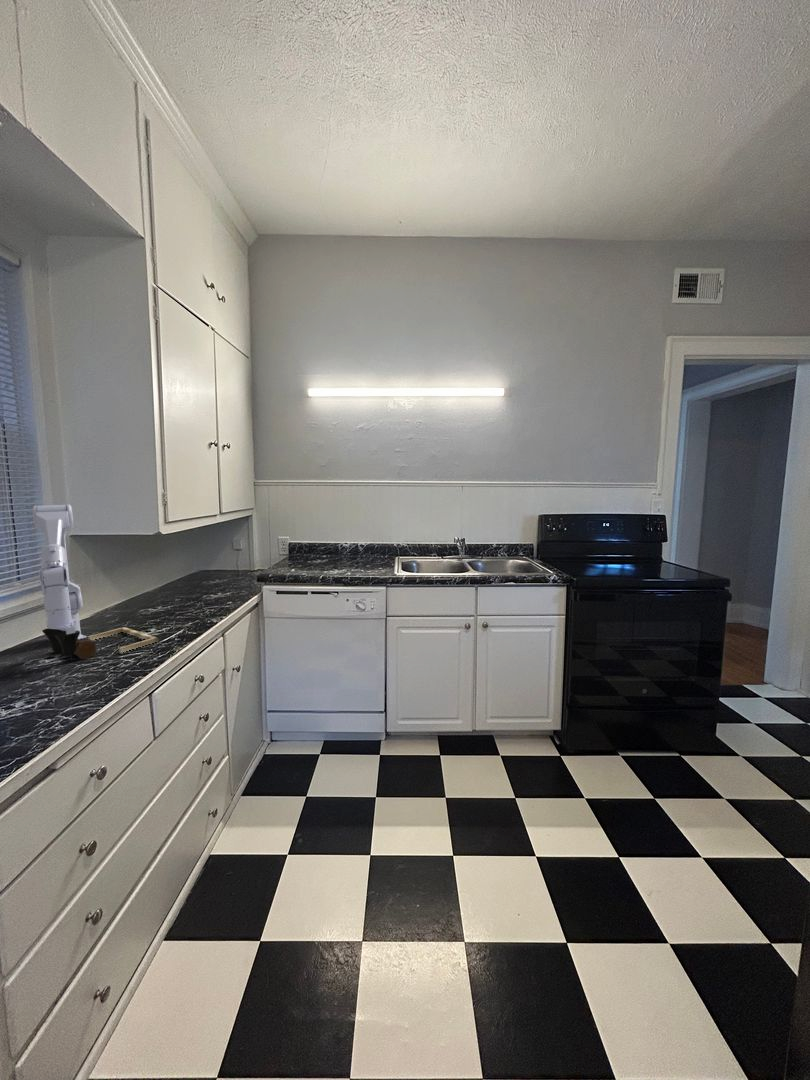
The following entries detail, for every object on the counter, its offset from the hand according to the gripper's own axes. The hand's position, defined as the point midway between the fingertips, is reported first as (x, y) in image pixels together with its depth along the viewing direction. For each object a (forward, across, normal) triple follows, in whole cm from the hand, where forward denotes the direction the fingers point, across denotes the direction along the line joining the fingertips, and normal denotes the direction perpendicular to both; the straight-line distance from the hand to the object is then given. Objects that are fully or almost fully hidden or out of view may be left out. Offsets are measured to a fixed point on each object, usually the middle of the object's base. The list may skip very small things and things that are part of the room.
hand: (63, 653), depth 138 cm
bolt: (+2, +2, -4) cm, 4 cm away
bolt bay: (+1, 0, -16) cm, 16 cm away
